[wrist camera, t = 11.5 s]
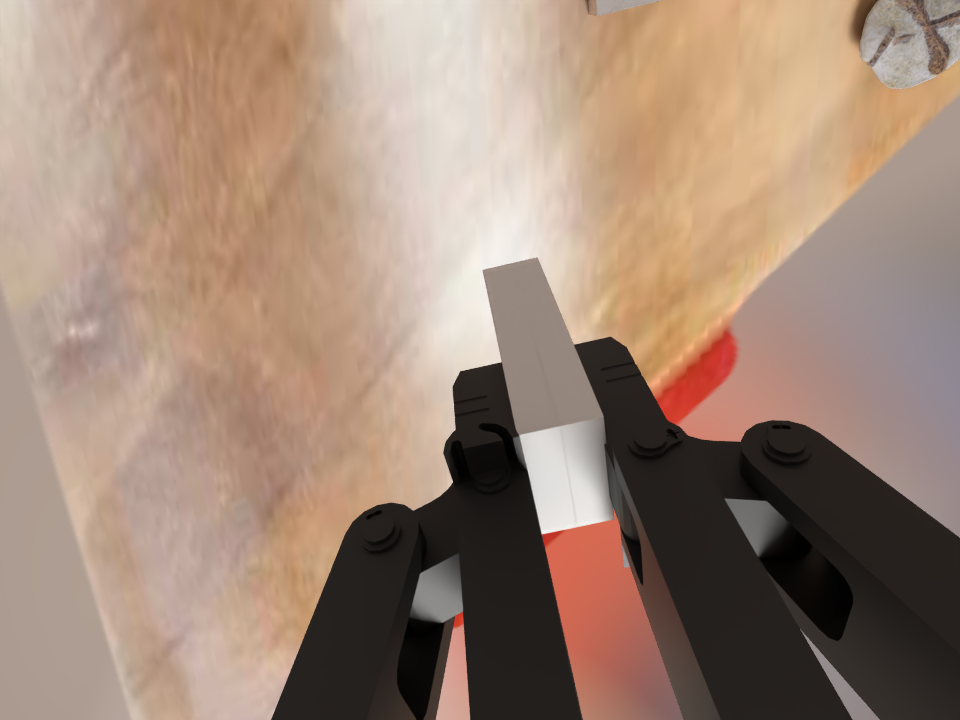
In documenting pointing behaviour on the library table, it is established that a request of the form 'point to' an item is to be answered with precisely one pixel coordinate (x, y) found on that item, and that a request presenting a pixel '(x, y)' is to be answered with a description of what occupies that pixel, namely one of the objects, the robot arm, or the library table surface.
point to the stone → (911, 40)
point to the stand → (613, 5)
